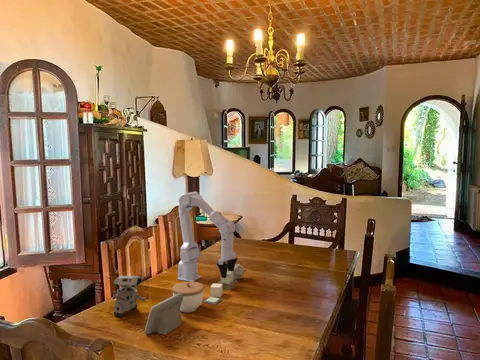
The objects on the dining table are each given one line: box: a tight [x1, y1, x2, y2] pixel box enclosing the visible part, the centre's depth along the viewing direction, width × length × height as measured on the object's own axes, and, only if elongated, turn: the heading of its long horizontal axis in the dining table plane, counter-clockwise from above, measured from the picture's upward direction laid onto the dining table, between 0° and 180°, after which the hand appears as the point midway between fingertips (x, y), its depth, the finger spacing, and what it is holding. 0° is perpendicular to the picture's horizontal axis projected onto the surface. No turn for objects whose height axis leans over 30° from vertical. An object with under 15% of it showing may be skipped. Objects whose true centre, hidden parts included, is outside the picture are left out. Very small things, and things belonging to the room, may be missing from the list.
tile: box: [202, 296, 223, 306], centre depth 150 cm, size 6×6×1 cm
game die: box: [233, 262, 247, 280], centre depth 177 cm, size 9×8×10 cm
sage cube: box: [220, 270, 233, 284], centre depth 166 cm, size 4×4×4 cm
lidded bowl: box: [171, 281, 205, 313], centre depth 143 cm, size 13×13×11 cm
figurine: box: [112, 274, 149, 318], centre depth 139 cm, size 9×12×15 cm
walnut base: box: [216, 279, 238, 291], centre depth 167 cm, size 7×7×3 cm
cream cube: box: [209, 283, 224, 298], centre depth 157 cm, size 4×4×4 cm
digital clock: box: [144, 293, 183, 336], centre depth 127 cm, size 16×9×11 cm, turn 138°
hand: (227, 275), depth 166 cm, fingers open, 7 cm apart
